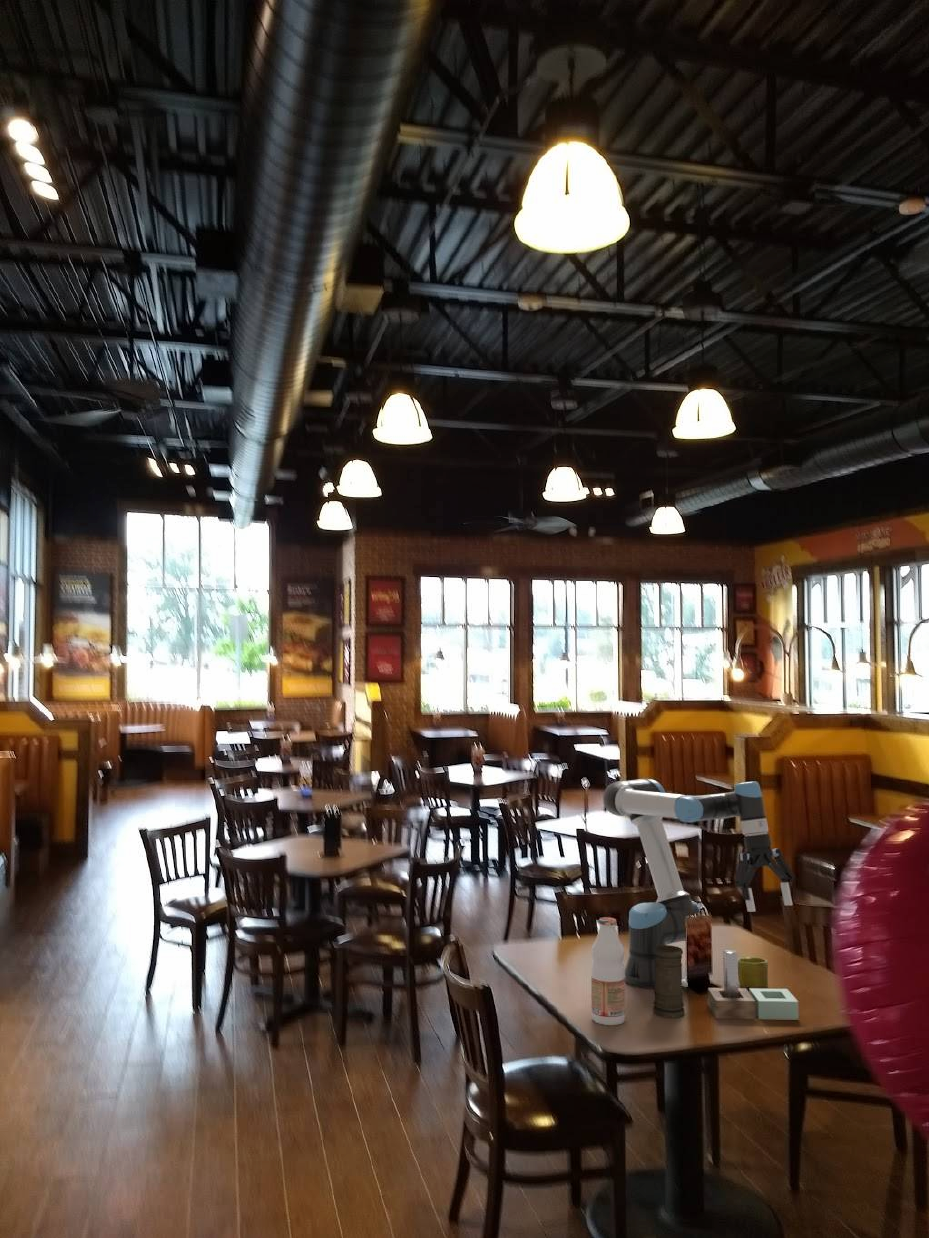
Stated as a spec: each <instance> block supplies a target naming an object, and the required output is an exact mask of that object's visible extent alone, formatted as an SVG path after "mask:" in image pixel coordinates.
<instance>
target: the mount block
mask: <svg viewBox="0 0 929 1238" xmlns="http://www.w3.org/2000/svg"><path fill="white" fill-rule="evenodd" d="M707 1006H708V1007H709V1010H710V1011H711V1013H712V1014H713V1016H714V1017H715V1019H717V1020H718V1019H722V1020H756V1014H755V1000H754V999H753V997H752V996H751V995H750V993H749V991H748V989H746V988H743V987H738V998H724V987H708V988H707Z"/></svg>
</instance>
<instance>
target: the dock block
mask: <svg viewBox="0 0 929 1238" xmlns="http://www.w3.org/2000/svg"><path fill="white" fill-rule="evenodd" d="M748 990H749V991H748V992H749V993H750V995H751V996H752V997H753V999H754V1000H755V1017H757V1018H758V1020H779V1021H780V1020H785V1021H786V1020H787V1021H789V1020H791V1021H792V1020H793V1021H794V1020H795V1021H796V1020H797V1021H800V1020H799V1016H800V1015H799V1014H800V1013H799V1001H798V1000H797V998H796V997H795V996H794V995H793V994H792V993H791V991H790V990H789V989H788V988H762V989H759V988H749V989H748Z"/></svg>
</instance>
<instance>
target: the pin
mask: <svg viewBox="0 0 929 1238" xmlns="http://www.w3.org/2000/svg"><path fill="white" fill-rule="evenodd" d="M738 955H739V954H738V951H736V950H734V949H733V950H731V949H725V950H723V958H722V959H723V960H722V962H723V988H724V998H738V988H739V979H738V959H739V956H738Z"/></svg>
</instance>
